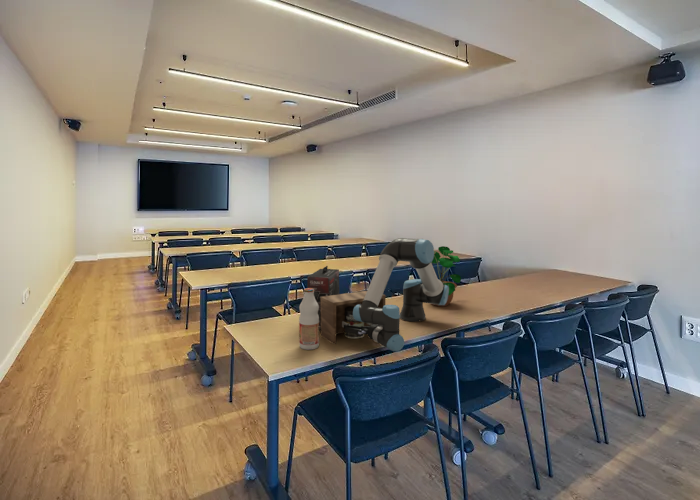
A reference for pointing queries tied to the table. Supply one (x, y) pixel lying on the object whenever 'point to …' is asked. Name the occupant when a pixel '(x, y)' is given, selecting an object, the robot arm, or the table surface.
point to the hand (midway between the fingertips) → (354, 321)
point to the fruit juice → (309, 321)
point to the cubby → (339, 312)
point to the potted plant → (447, 263)
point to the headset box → (323, 285)
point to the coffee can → (352, 322)
